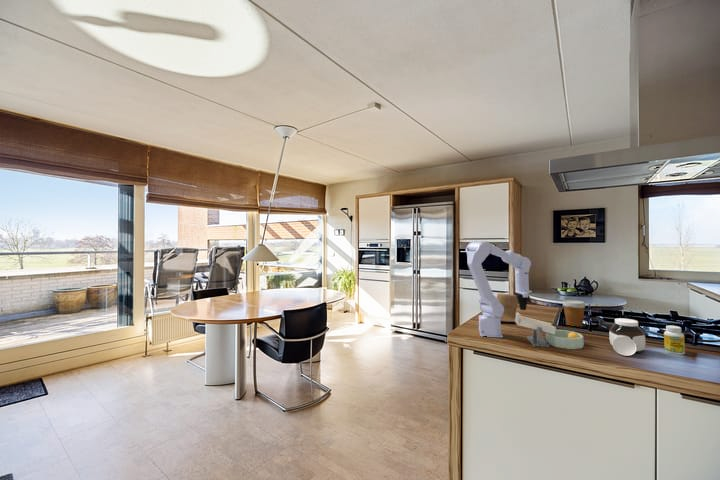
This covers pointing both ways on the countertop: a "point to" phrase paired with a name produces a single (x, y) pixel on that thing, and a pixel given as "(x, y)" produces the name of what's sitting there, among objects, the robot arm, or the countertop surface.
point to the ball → (573, 335)
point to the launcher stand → (537, 339)
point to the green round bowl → (564, 340)
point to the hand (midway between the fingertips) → (522, 309)
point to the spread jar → (627, 337)
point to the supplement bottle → (674, 340)
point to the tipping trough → (534, 324)
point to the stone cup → (508, 307)
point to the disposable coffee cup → (574, 312)
